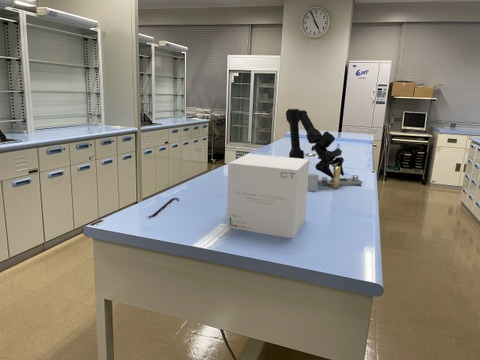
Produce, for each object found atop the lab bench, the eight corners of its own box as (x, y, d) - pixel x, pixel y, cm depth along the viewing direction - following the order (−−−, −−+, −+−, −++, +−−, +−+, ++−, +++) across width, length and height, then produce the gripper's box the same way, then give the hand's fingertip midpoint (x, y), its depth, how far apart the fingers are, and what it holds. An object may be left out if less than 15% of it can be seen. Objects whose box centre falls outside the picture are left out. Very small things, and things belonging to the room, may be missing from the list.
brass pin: (333, 189, 194) (335, 166, 191) (330, 187, 197) (332, 165, 194) (339, 189, 194) (341, 167, 191) (337, 187, 198) (339, 165, 195)
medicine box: (317, 189, 192) (318, 173, 190) (316, 192, 188) (317, 175, 186) (302, 188, 195) (303, 172, 192) (300, 190, 190) (301, 173, 188)
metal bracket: (321, 185, 200) (321, 177, 199) (316, 182, 208) (317, 173, 206) (362, 185, 202) (362, 177, 201) (356, 182, 210) (357, 174, 209)
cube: (227, 227, 137) (228, 163, 131) (246, 210, 157) (248, 153, 151) (293, 238, 129) (297, 170, 123) (305, 219, 148) (309, 159, 142)
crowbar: (170, 197, 170) (181, 197, 170) (170, 199, 171) (181, 200, 170) (146, 217, 144) (158, 217, 143) (146, 219, 144) (158, 220, 143)
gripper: (321, 144, 187) (338, 170, 182) (342, 142, 199) (358, 165, 194) (308, 157, 194) (324, 182, 189) (329, 154, 207) (344, 177, 201)
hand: (338, 176), depth 193 cm, fingers open, 9 cm apart
